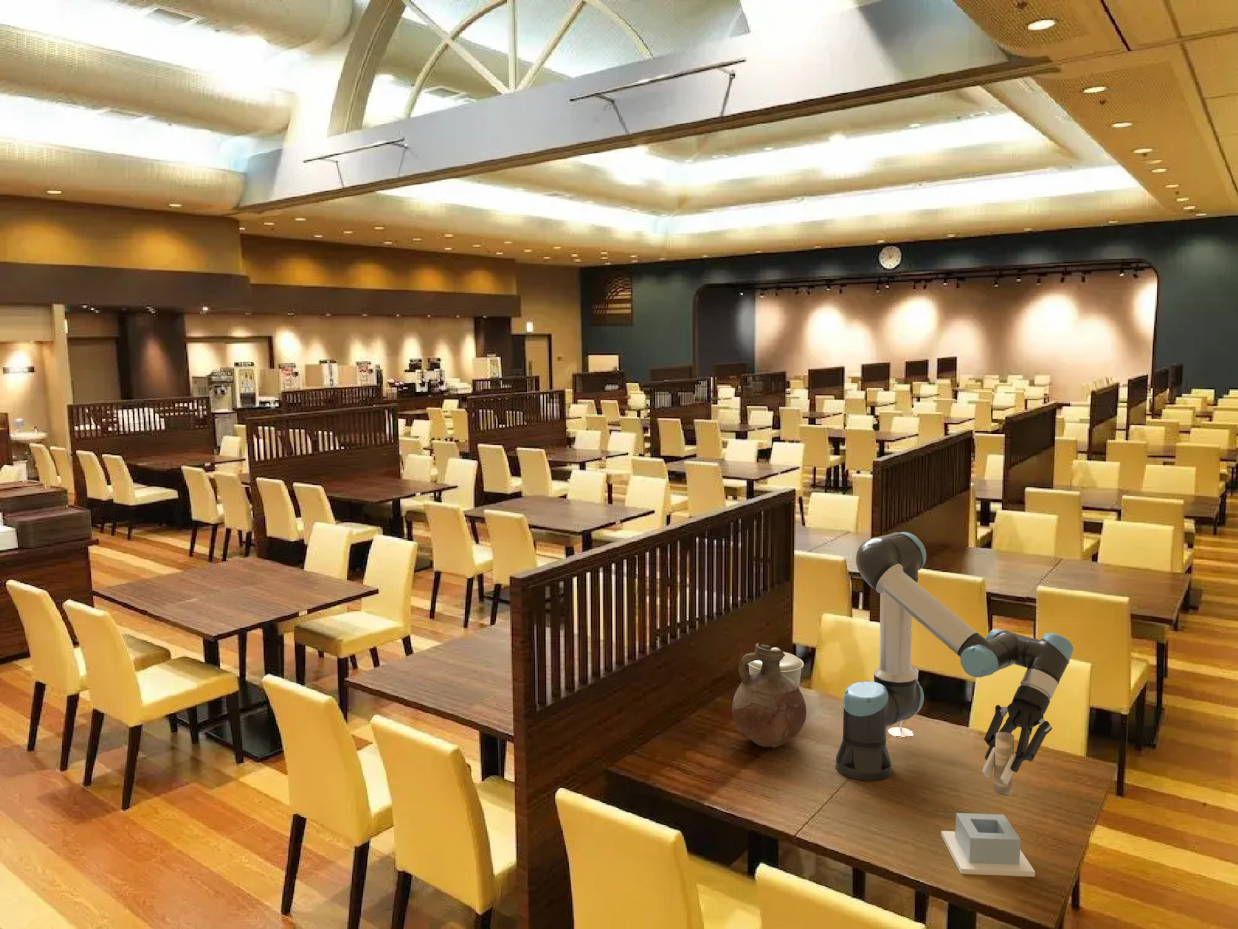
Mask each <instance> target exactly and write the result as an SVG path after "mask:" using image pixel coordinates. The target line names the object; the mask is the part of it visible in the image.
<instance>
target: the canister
mask: <svg viewBox="0 0 1238 929" xmlns="http://www.w3.org/2000/svg"><path fill="white" fill-rule="evenodd" d="M770 648H771V650H774V651H780V650H781V649H780V648H779V647H775V646H774V647H770ZM783 653H784V654H785V656H784V657H783V659H782V660H781V661H780V670H781V673H782V674H784V675H786V676H787V677H789V678H790V679H792V680H793V681H794V682H795V683H797V685H798V687H800V682H801V675H802V674H801V673H802V669H803V668H804V665H805V663H804V661H803V660H802V659H801V658H800V657H798V656H796V655H794V654H792V653H789V652H785V651H783ZM747 666H748V673H749V674H750V675H751V674H753V673H756V672H759V671H760V670H761V667H762V661H760V660H755V661H751V662H749V663H748V664H747Z"/></svg>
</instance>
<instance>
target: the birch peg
mask: <svg viewBox="0 0 1238 929" xmlns="http://www.w3.org/2000/svg"><path fill="white" fill-rule="evenodd" d="M1014 750H1015V735H1014V734H1012V733H1011V734H1010V733H1007V732H999V731H998V732H997V733H996V742H995V765H994V768H993V770H994V771H993V789H992V790H993V793H994V794H996V795H999V796H1003V797H1008V796H1009V797H1010V796H1012V792H1013V774H1014V773H1013V774H1012V776H1011V778H1010V780H1009V782H1008V785H1006V784H1004V783H1003V781H1002V780H1001V779H1000V778H1001V776H1002V773H1003V771H1004V769H1005V767H1006V765H1007V763H1008V761H1009V759H1010V757H1011V755H1012V754H1013V755H1015V751H1014Z"/></svg>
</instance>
